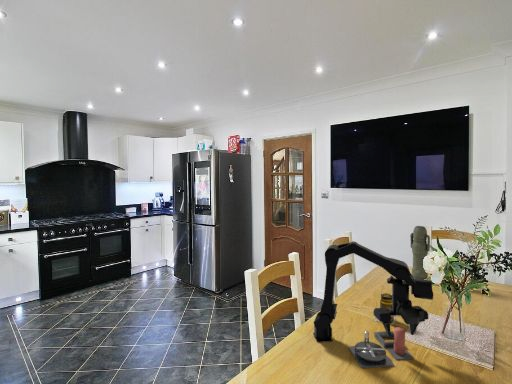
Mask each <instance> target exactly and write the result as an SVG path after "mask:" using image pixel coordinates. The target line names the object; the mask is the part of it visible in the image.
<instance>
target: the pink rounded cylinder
mask: <svg viewBox="0 0 512 384" xmlns="http://www.w3.org/2000/svg"><path fill="white" fill-rule="evenodd" d="M393 332H394V339H393V341H394V352H395V353H396V354H397V355H401V356H403V355H405V353H406V350H407V349H406V330H405V329H404V328H402V327H401V326H400V327H399V326H396V327H394V330H393Z"/></svg>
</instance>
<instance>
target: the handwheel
mask: <svg viewBox="0 0 512 384" xmlns="http://www.w3.org/2000/svg"><path fill="white" fill-rule="evenodd" d="M363 333H364V335H363V337H364V338H363V339H364V341H359V342H357V343H355V345H354V346H355V353H356V354H357V355H358V356H359V357H361V358H362V359H364V360H367V361H371V362H380V361H383V360H384V359H385V358H386V355H387V352H386V348H384V347H383V346H382V345H381V344H378V343H375V342H371V341H370V331H368V330H364V332H363Z"/></svg>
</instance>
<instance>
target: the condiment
mask: <svg viewBox="0 0 512 384" xmlns="http://www.w3.org/2000/svg"><path fill="white" fill-rule="evenodd" d="M390 295H391V294H390V293H387V292H386V293H381V294H380V299H379V308H385V309H386V310H387V311H392V309H391V308H390V305H392V299H391V298H390ZM373 320H374V321H375V322H379V323H382V322H381V321H379V320H378V319H377V318H376V317H375V316H374V319H373ZM390 321H391V322H392V323H391V324H390V325H393V326H394V325H395V323H396V317H395V316H393V317H391V320H390Z"/></svg>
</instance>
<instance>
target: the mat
mask: <svg viewBox="0 0 512 384" xmlns="http://www.w3.org/2000/svg"><path fill="white" fill-rule="evenodd" d="M385 350H387V351H388V353H390V356H392V357H393V359H395V361H402V360H404V361H405V360H415V357H414V356H413V355H412V354H411V353H410V352H409V350H407V349H406V353H405V355H403V356H401V355H397V354H396V353H395V352H394V347H390V348H385Z"/></svg>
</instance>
